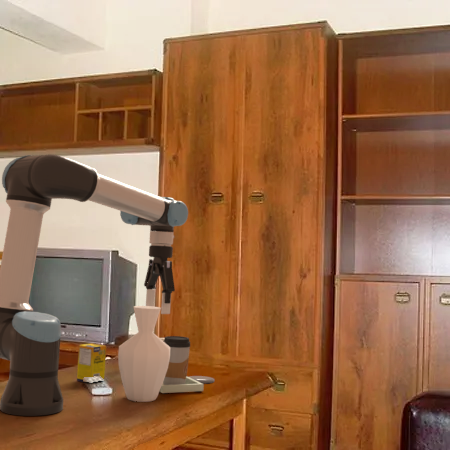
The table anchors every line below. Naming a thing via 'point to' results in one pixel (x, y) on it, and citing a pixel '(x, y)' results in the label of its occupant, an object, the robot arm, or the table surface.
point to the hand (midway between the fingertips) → (157, 311)
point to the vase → (143, 358)
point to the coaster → (203, 379)
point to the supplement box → (91, 361)
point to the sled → (182, 385)
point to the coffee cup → (177, 360)
